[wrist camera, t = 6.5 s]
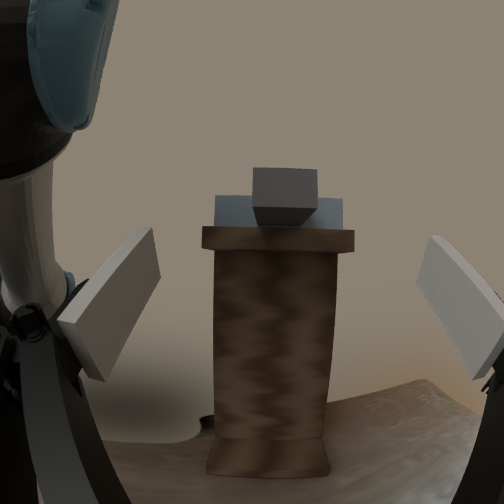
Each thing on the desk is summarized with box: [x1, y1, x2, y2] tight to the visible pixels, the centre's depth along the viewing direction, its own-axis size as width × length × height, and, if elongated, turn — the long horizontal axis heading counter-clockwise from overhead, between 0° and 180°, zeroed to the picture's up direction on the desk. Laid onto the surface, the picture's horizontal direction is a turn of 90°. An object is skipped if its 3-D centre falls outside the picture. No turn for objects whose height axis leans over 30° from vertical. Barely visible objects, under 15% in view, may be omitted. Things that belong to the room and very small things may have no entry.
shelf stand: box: [202, 226, 354, 478], centre depth 30 cm, size 14×9×28 cm, turn 87°
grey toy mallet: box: [214, 168, 343, 230], centre depth 26 cm, size 12×17×3 cm
